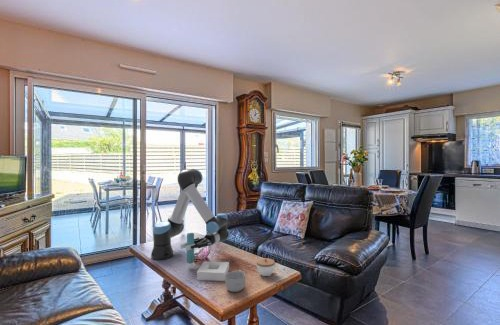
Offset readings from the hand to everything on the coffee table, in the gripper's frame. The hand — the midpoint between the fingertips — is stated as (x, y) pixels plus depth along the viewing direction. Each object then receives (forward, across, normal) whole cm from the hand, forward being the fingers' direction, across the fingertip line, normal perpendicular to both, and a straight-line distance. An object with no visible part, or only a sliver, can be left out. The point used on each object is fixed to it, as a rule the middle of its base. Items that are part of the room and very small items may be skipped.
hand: (183, 247), depth 168 cm
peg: (-5, 0, -10) cm, 12 cm away
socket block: (-8, -19, -14) cm, 25 cm away
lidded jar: (-27, -43, -14) cm, 53 cm away
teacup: (-4, -41, -14) cm, 44 cm away
